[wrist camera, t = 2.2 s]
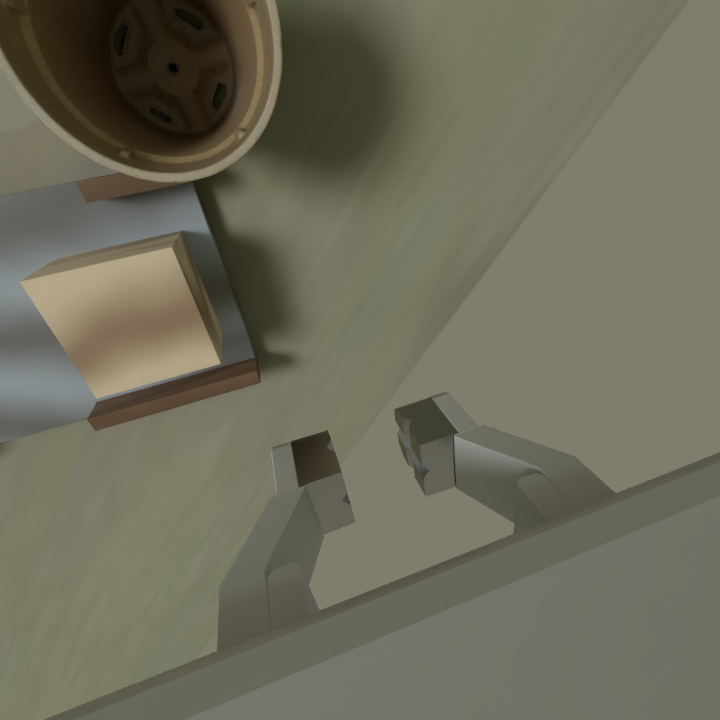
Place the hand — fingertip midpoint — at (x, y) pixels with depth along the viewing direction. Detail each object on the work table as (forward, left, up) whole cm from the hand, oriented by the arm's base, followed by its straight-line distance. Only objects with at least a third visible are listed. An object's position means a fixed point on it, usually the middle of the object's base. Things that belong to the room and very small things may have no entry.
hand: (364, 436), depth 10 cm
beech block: (0, -9, -18) cm, 20 cm away
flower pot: (-11, -3, -19) cm, 22 cm away
